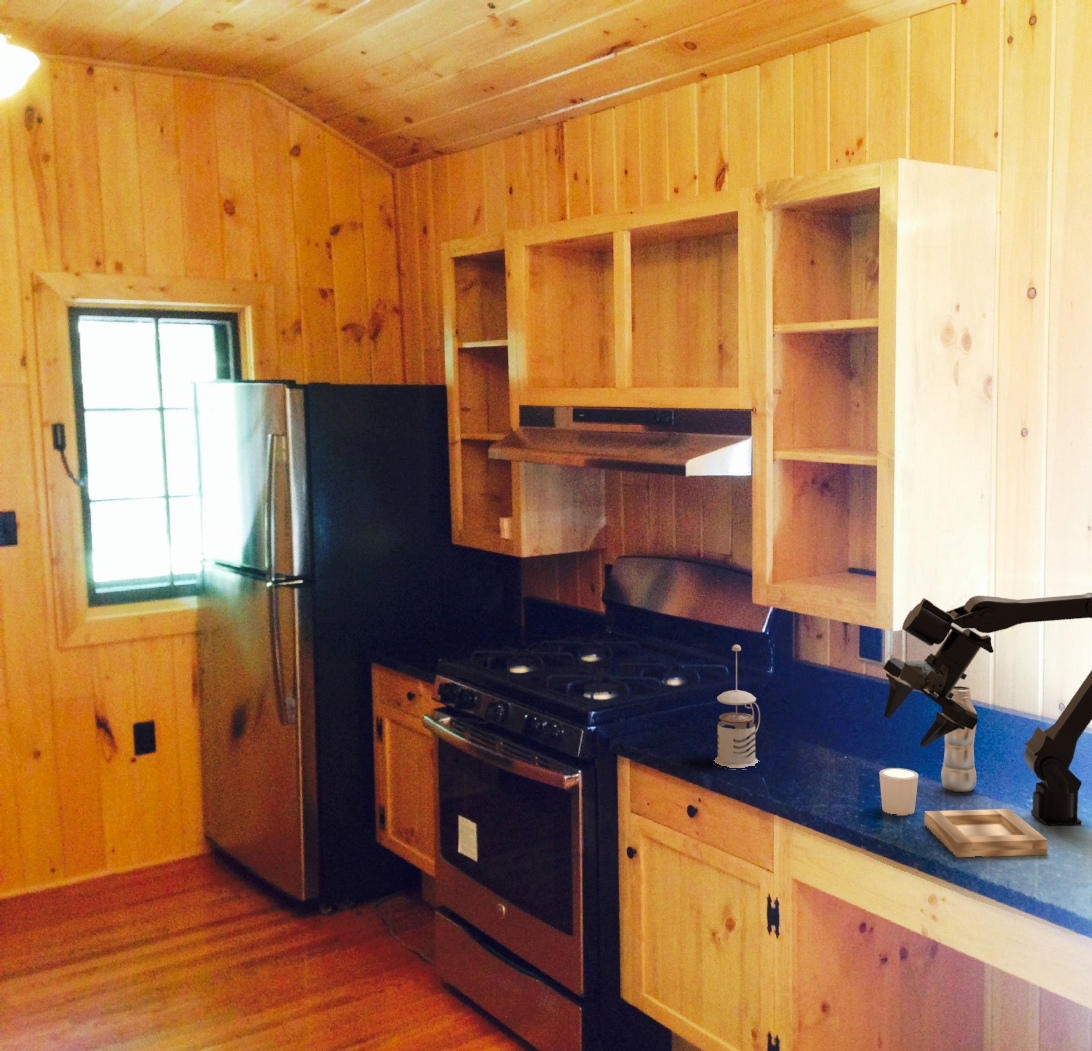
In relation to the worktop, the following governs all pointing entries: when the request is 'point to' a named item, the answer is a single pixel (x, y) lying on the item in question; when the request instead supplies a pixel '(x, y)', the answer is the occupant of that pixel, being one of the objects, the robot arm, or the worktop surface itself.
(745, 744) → the french press
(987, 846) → the holder tray
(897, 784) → the white tapered cup
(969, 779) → the plastic bottle
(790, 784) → the worktop surface
